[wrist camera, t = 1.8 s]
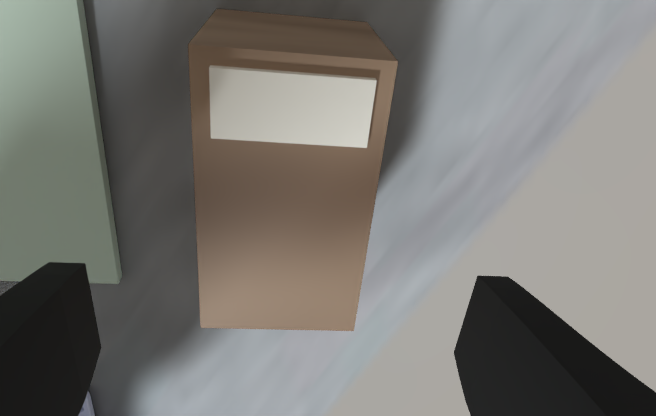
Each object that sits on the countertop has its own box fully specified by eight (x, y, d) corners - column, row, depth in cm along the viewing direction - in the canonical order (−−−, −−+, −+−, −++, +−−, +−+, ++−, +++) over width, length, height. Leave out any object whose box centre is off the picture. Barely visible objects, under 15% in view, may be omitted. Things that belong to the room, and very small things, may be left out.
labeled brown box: (338, 238, 19) (354, 335, 15) (220, 233, 19) (199, 332, 14) (366, 21, 15) (399, 64, 11) (217, 8, 15) (186, 46, 10)
